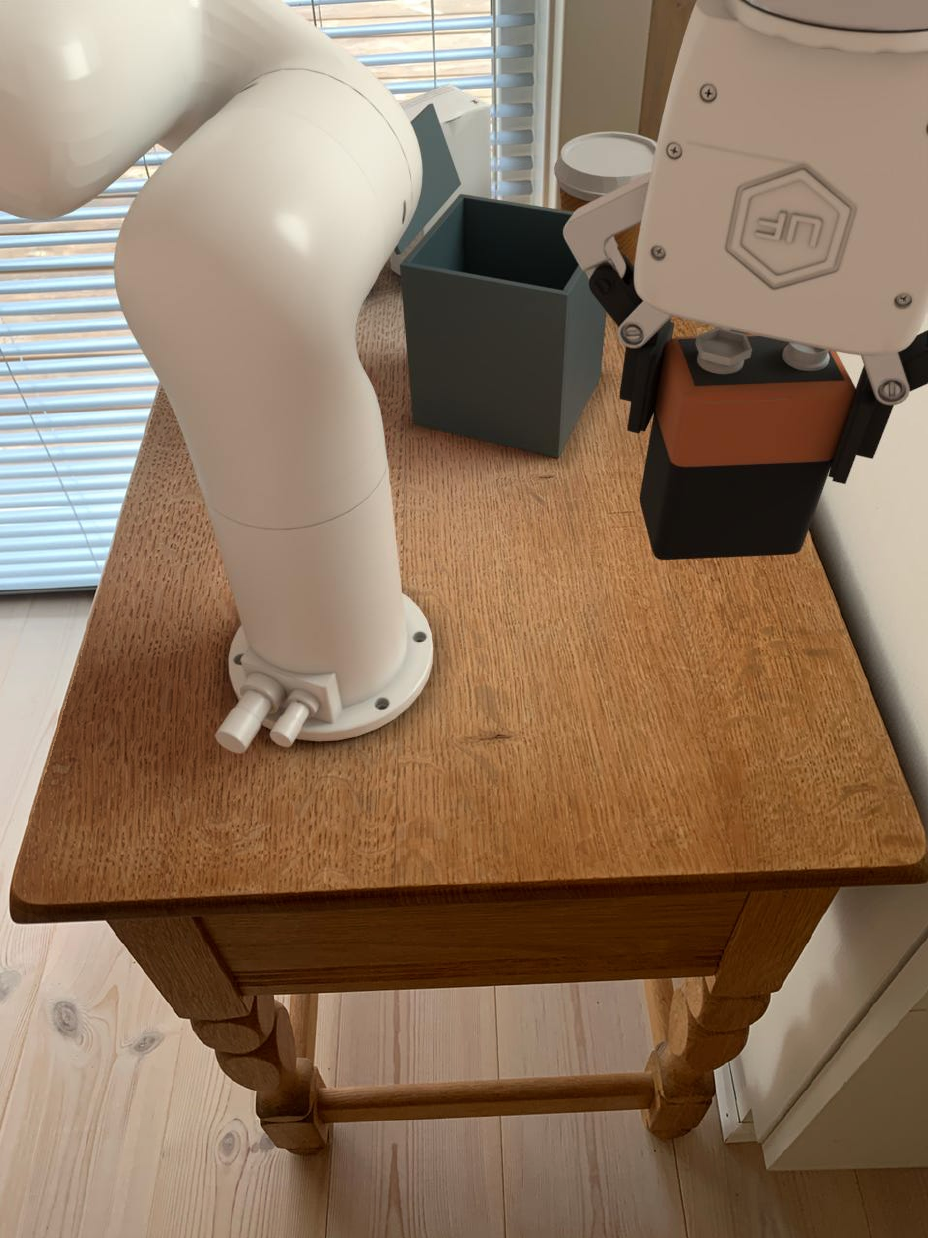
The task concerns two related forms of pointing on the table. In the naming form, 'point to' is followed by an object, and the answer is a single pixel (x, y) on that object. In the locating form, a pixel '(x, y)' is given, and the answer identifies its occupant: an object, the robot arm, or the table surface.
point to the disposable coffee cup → (603, 173)
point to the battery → (740, 444)
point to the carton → (500, 326)
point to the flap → (430, 173)
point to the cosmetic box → (456, 146)
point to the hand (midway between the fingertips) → (740, 435)
